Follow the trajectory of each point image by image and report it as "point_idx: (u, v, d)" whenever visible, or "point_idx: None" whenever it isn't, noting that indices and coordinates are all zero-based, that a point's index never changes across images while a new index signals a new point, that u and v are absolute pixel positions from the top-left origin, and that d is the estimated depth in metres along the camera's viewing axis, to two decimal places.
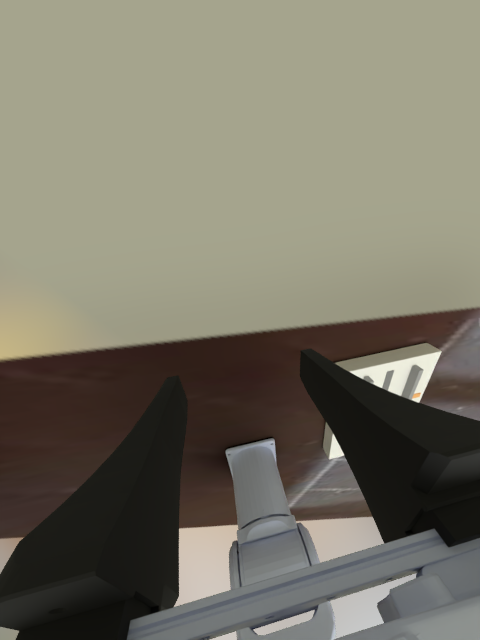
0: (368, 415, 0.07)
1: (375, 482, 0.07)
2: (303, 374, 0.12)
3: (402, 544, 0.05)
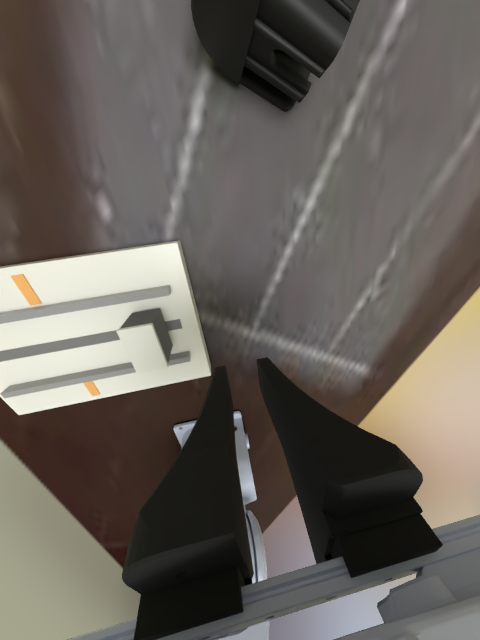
0: (295, 433, 0.06)
1: (306, 501, 0.07)
2: (260, 383, 0.11)
3: None
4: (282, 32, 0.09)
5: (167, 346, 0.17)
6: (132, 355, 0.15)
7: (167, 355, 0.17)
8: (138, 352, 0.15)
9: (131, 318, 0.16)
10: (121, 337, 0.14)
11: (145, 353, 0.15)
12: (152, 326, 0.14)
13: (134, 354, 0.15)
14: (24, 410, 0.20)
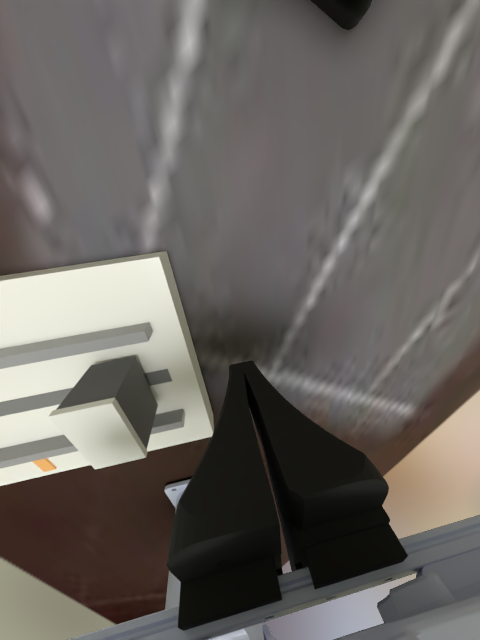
0: (268, 439, 0.06)
1: (280, 507, 0.07)
2: None
3: (402, 544, 0.05)
4: None
5: (147, 416, 0.11)
6: (83, 447, 0.09)
7: (146, 432, 0.11)
8: (93, 442, 0.09)
9: (85, 380, 0.10)
10: (59, 424, 0.08)
11: (106, 442, 0.09)
12: (114, 404, 0.08)
13: (87, 445, 0.09)
14: None
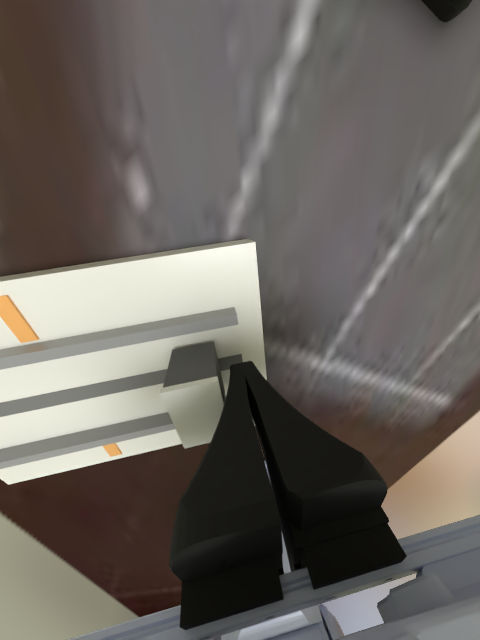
0: (268, 439, 0.06)
1: (279, 508, 0.07)
2: None
3: (402, 544, 0.05)
4: None
5: (224, 399, 0.11)
6: (181, 425, 0.09)
7: None
8: (191, 420, 0.09)
9: (175, 362, 0.10)
10: (167, 401, 0.09)
11: (201, 421, 0.09)
12: (218, 382, 0.09)
13: (184, 424, 0.09)
14: (16, 478, 0.14)
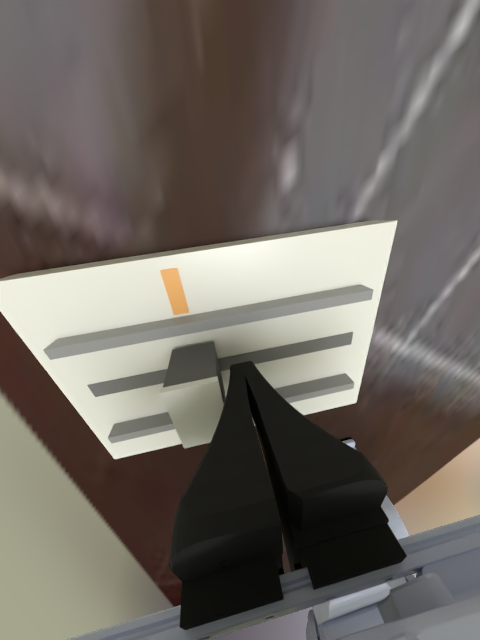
0: (268, 439, 0.06)
1: (279, 507, 0.07)
2: None
3: (402, 544, 0.05)
4: None
5: (224, 399, 0.11)
6: (181, 425, 0.09)
7: None
8: (190, 420, 0.09)
9: (175, 362, 0.10)
10: (167, 401, 0.09)
11: (201, 421, 0.10)
12: (218, 382, 0.09)
13: (184, 423, 0.09)
14: (123, 453, 0.15)
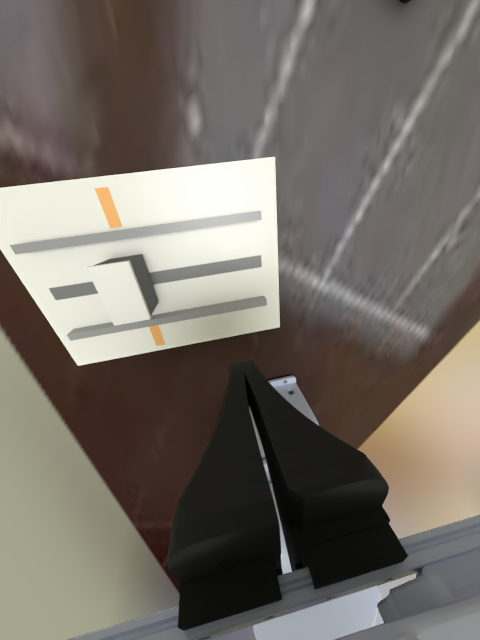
0: (269, 439, 0.06)
1: (280, 507, 0.07)
2: None
3: (402, 544, 0.05)
4: None
5: (150, 298, 0.15)
6: (107, 301, 0.13)
7: (150, 307, 0.15)
8: (114, 297, 0.13)
9: (107, 261, 0.14)
10: (92, 276, 0.12)
11: (122, 299, 0.13)
12: (129, 264, 0.12)
13: (109, 300, 0.13)
14: (84, 360, 0.19)
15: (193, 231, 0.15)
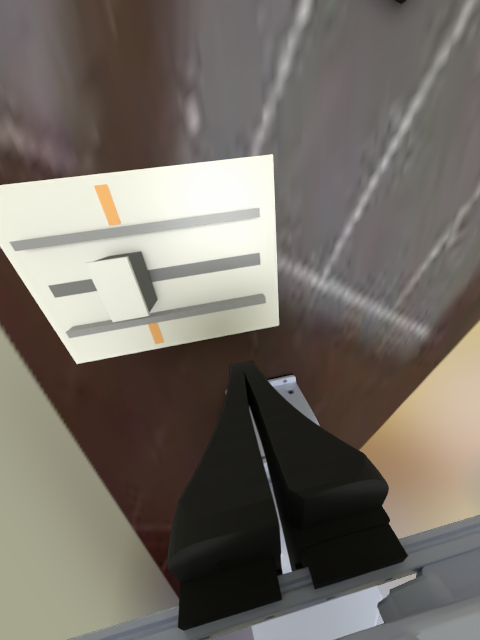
0: (269, 439, 0.06)
1: (280, 507, 0.07)
2: None
3: (402, 544, 0.05)
4: None
5: (149, 295, 0.15)
6: (105, 297, 0.13)
7: (149, 303, 0.15)
8: (112, 294, 0.13)
9: (106, 258, 0.14)
10: (91, 272, 0.12)
11: (121, 295, 0.13)
12: (127, 260, 0.12)
13: (108, 296, 0.13)
14: (83, 358, 0.18)
15: (192, 228, 0.15)
